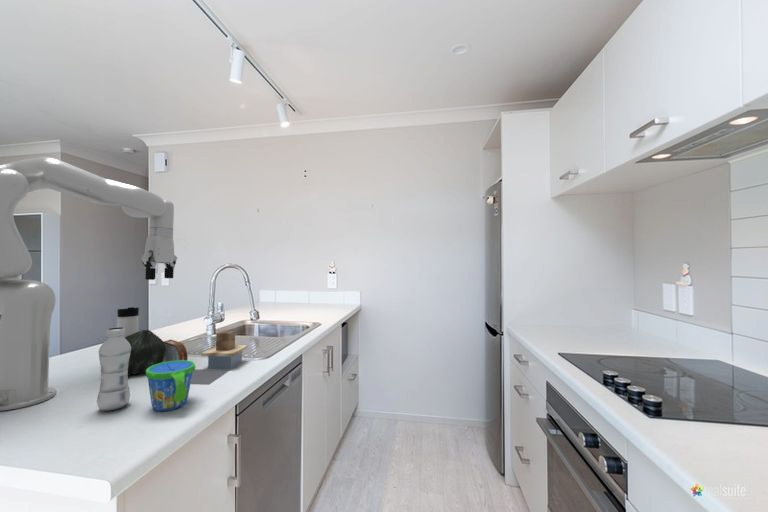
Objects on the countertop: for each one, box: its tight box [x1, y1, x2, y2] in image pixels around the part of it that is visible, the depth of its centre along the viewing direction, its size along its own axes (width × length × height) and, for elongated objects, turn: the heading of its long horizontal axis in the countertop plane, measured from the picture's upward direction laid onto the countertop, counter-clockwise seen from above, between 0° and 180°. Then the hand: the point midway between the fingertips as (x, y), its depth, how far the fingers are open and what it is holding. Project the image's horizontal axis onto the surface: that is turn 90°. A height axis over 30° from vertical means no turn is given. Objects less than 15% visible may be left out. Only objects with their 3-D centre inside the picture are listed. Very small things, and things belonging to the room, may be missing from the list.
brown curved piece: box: [163, 339, 188, 362], centre depth 115 cm, size 15×3×8 cm, turn 58°
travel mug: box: [116, 306, 140, 338], centre depth 119 cm, size 6×7×20 cm
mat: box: [190, 368, 231, 386], centre depth 103 cm, size 13×13×1 cm
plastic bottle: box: [96, 326, 131, 412], centre depth 81 cm, size 6×7×20 cm
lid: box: [200, 330, 249, 357], centre depth 115 cm, size 11×11×7 cm
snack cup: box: [145, 359, 196, 412], centre depth 83 cm, size 16×10×10 cm
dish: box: [207, 351, 243, 370], centre depth 115 cm, size 8×8×5 cm
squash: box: [125, 329, 166, 375], centre depth 107 cm, size 14×15×15 cm
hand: (160, 278), depth 121 cm, fingers open, 9 cm apart
